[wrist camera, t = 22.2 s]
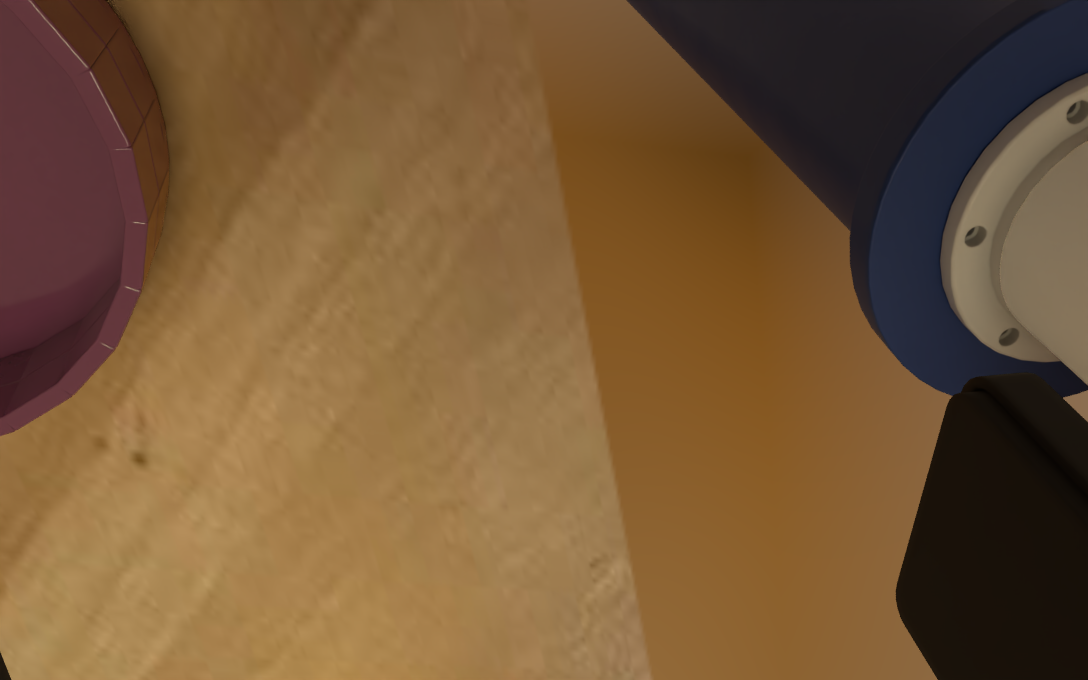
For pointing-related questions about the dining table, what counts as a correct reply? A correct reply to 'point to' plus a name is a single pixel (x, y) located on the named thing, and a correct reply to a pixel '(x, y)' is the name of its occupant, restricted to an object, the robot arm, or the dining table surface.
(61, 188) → the bowl
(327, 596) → the dining table surface
